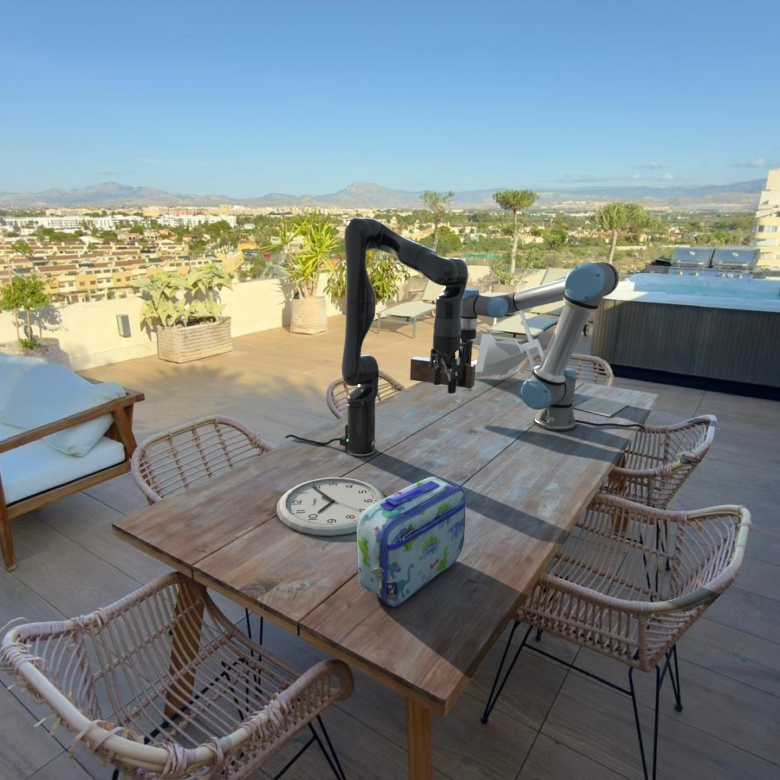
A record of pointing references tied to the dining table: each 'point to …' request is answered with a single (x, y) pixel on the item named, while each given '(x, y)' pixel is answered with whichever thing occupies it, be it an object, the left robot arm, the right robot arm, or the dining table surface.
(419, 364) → the bar
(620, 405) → the invitation card
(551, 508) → the dining table surface
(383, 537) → the lunch box
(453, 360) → the left robot arm
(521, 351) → the white plastic object
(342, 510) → the wall clock
